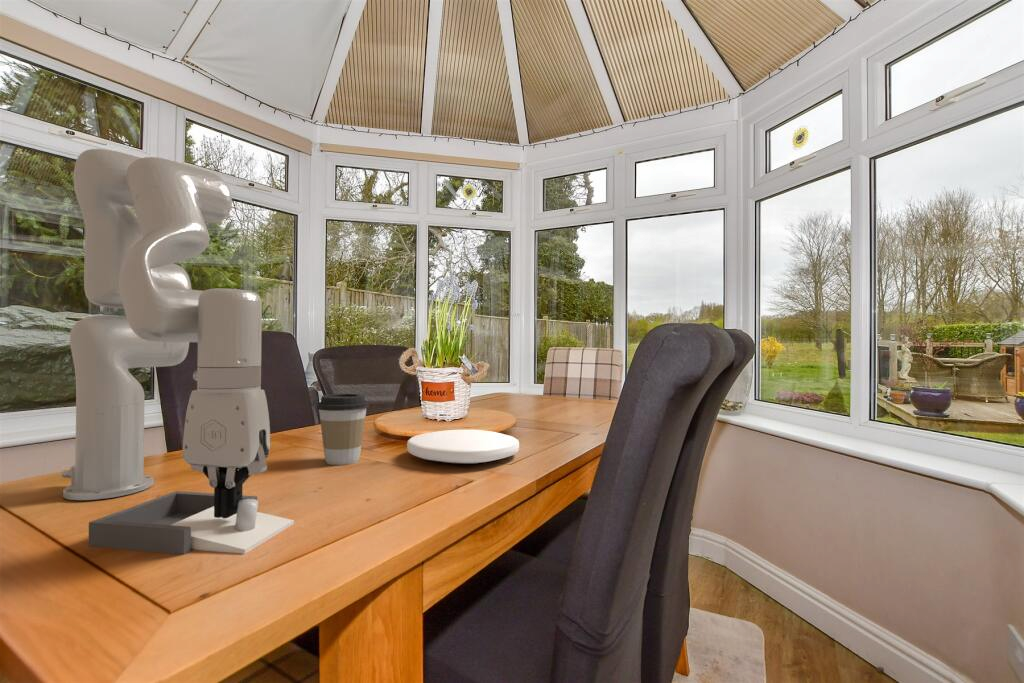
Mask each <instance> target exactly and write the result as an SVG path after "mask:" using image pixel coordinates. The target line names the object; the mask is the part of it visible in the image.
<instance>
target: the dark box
mask: <svg viewBox="0 0 1024 683" xmlns="http://www.w3.org/2000/svg"><path fill="white" fill-rule="evenodd" d="M243 499H255V500H258V496H257V495H256V496H255V495H243V494H242V500H243ZM213 506H214V492H213V493H210V492H198V491H197V492H196V491H180V490H176V491H175V490H174V491H173V492H169V493H167V494H164V495H161V496H159V497H155V498H152V499H150V500H147V501H144V502H143V503H139V504H136V505H133V506H131V507H128V508H124V509H122V510H120V511H117V512H113V513H111V514H108V515H105V516H102V517H100V518H97V519H94V520H91V521H89V522H88V545H87V546H88V547H92V548H101V549H102V548H105V549H106V548H107V549H115V550H127V551H137V552H138V551H139V552H148V553H149V552H150V553H161V554H173V555H181V556H182V555H187V554H188V553H190V552H192V551H193V550H195V549H192V548H191V527H187V526H174V525H172V524H174V523H176V522H179V521H181V520H183V519H186V518H188V517H190V516H192V515H195V514H197V513H199V512H202V511H204V510H206V509H209V508H211V507H213Z"/></svg>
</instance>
